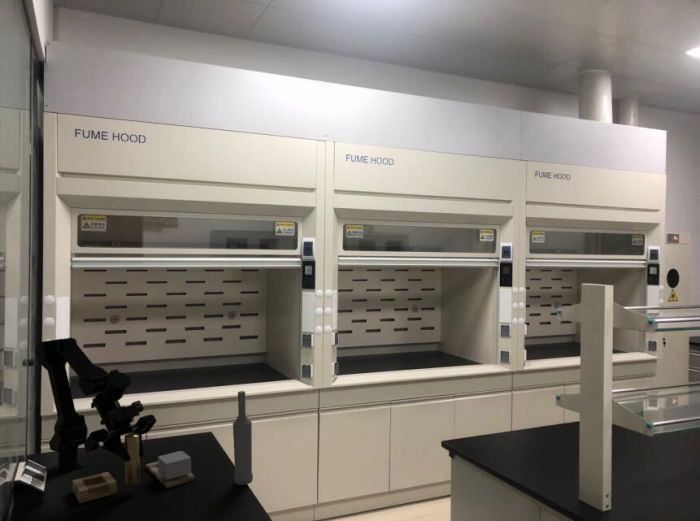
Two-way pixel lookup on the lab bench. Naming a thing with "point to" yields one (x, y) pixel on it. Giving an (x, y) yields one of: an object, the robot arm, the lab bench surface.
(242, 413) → the bottle
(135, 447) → the brass pin
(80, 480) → the socket block
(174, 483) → the plate
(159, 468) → the cover
